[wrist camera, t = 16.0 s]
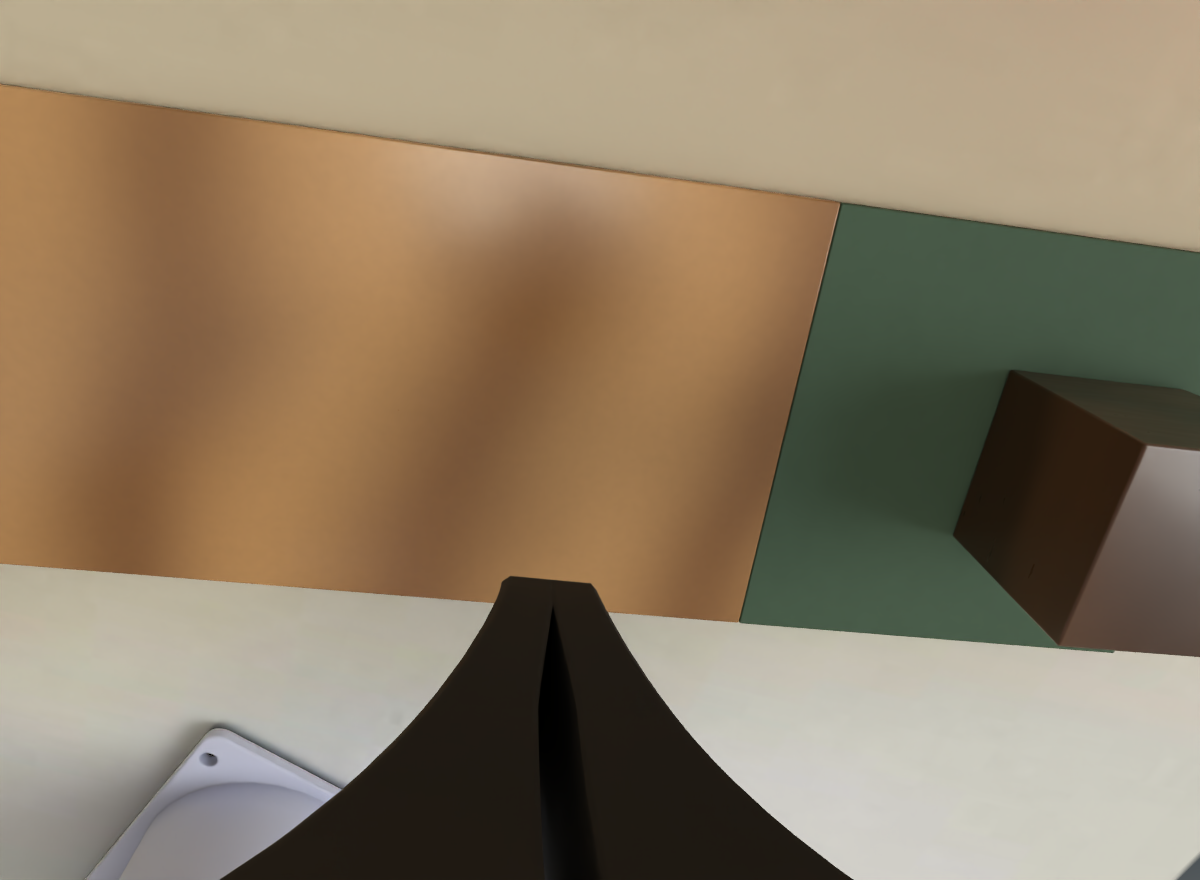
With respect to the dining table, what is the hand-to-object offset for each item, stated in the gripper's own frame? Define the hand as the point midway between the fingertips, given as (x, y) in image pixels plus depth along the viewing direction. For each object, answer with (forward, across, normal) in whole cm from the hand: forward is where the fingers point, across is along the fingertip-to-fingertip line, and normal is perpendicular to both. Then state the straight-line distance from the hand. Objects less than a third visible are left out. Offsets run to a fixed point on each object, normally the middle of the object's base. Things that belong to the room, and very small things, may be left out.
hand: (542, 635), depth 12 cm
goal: (+9, -12, 0) cm, 15 cm away
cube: (+9, -14, 0) cm, 17 cm away
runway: (+9, +10, 0) cm, 14 cm away
